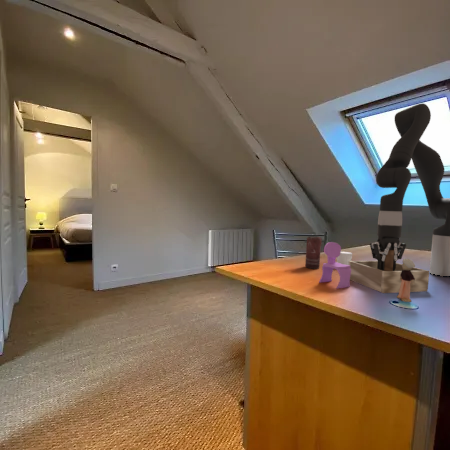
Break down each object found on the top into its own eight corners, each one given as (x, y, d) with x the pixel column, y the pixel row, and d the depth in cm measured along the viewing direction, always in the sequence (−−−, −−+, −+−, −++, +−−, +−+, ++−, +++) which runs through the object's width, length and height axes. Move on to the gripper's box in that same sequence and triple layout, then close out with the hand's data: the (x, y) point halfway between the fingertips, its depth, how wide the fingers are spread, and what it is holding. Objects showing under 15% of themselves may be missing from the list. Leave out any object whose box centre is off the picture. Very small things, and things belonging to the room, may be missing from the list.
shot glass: (350, 266, 135) (351, 251, 134) (352, 269, 128) (353, 254, 128) (335, 265, 137) (336, 250, 137) (335, 267, 131) (336, 252, 130)
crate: (386, 277, 115) (388, 260, 114) (427, 291, 97) (429, 271, 97) (347, 278, 111) (348, 261, 110) (382, 293, 93) (384, 272, 93)
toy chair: (336, 289, 96) (339, 245, 95) (316, 282, 103) (319, 241, 102) (352, 286, 99) (355, 244, 98) (332, 280, 107) (335, 241, 106)
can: (320, 269, 126) (322, 238, 125) (305, 268, 127) (307, 237, 126) (319, 266, 132) (320, 236, 131) (304, 265, 133) (306, 235, 132)
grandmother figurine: (390, 295, 90) (393, 256, 89) (401, 296, 91) (404, 256, 90) (407, 304, 83) (411, 261, 82) (420, 304, 83) (423, 261, 82)
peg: (385, 280, 106) (388, 248, 105) (394, 283, 102) (396, 250, 101) (376, 280, 105) (378, 248, 104) (384, 283, 101) (387, 250, 101)
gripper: (397, 223, 108) (394, 268, 109) (365, 222, 104) (362, 268, 106) (415, 225, 100) (411, 272, 101) (380, 224, 97) (377, 273, 98)
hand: (386, 270), depth 104 cm, fingers closed on peg, 4 cm apart
